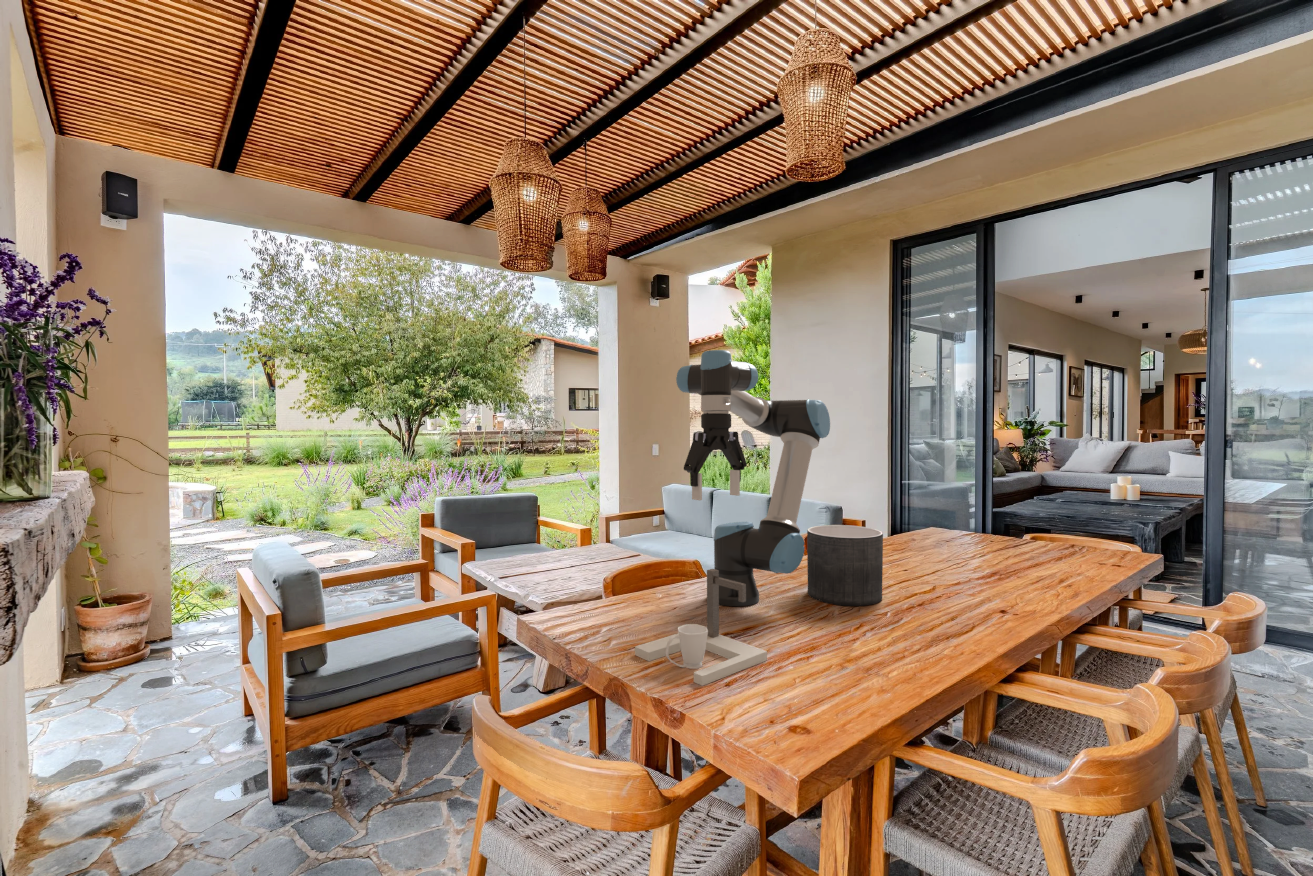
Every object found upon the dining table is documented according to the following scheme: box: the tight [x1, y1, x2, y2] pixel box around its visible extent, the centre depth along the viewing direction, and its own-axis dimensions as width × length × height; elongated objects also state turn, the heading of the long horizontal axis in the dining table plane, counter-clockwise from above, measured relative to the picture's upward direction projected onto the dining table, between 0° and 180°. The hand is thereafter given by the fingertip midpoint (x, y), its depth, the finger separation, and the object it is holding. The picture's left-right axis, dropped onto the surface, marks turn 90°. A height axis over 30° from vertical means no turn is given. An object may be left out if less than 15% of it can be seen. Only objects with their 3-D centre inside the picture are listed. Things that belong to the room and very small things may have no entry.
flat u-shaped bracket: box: [634, 632, 768, 687], centre depth 140 cm, size 22×20×2 cm
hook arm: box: [706, 568, 746, 638], centre depth 145 cm, size 11×2×16 cm, turn 40°
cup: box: [665, 623, 708, 670], centre depth 135 cm, size 7×10×8 cm
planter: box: [806, 524, 884, 607], centre depth 189 cm, size 22×22×20 cm
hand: (716, 497), depth 154 cm, fingers open, 13 cm apart
